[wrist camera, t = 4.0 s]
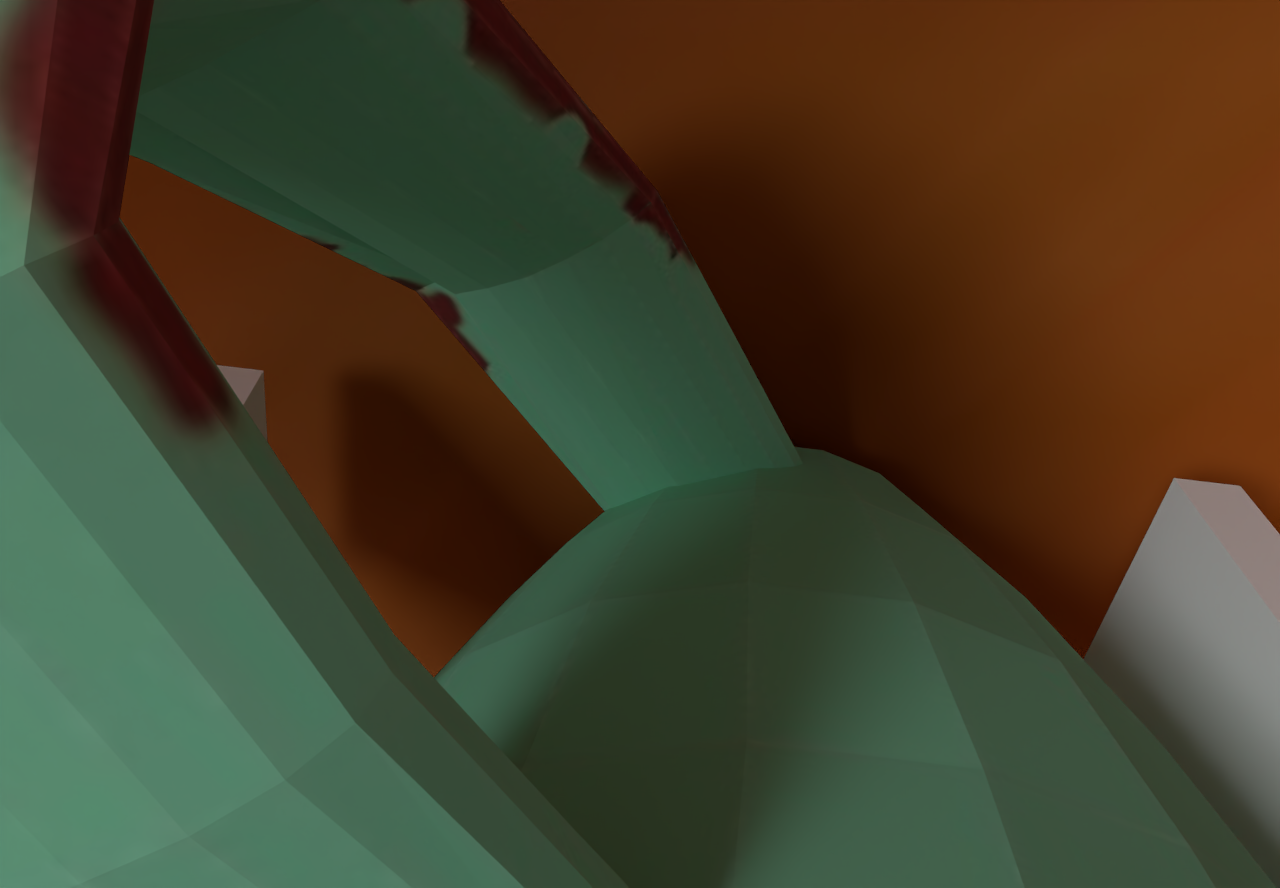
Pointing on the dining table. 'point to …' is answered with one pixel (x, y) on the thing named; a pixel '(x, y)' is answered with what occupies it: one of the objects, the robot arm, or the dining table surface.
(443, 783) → the mug
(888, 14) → the dining table surface
